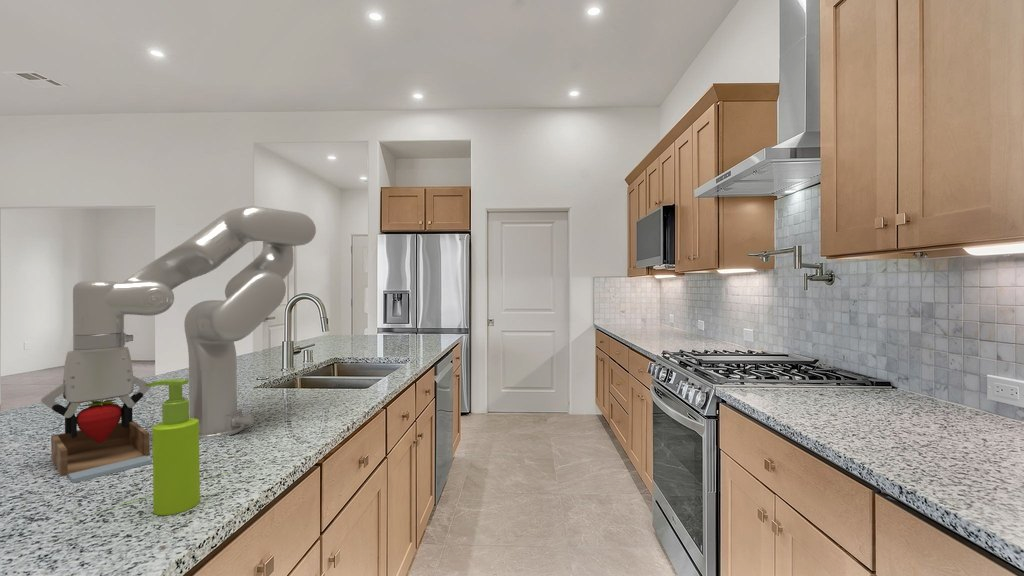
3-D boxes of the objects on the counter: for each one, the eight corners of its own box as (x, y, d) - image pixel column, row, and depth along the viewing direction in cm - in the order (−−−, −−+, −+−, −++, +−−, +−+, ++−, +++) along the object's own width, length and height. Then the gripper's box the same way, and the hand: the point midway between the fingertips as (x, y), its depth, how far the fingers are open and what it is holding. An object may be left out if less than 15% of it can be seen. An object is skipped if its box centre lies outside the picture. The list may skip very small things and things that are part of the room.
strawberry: (66, 448, 86) (65, 396, 86) (106, 435, 94) (105, 388, 94) (93, 449, 85) (92, 397, 85) (131, 436, 93) (130, 388, 93)
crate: (51, 462, 89) (51, 435, 89) (132, 445, 99) (132, 420, 99) (61, 481, 80) (61, 450, 80) (149, 459, 90) (149, 432, 90)
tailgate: (66, 473, 81) (71, 479, 78) (145, 455, 90) (152, 459, 86) (67, 477, 81) (71, 483, 78) (145, 458, 90) (152, 463, 86)
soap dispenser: (163, 498, 73) (161, 376, 73) (207, 496, 74) (206, 375, 74) (136, 517, 67) (134, 384, 67) (185, 514, 68) (182, 383, 68)
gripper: (149, 337, 99) (149, 418, 99) (34, 345, 85) (34, 439, 85) (158, 339, 94) (159, 424, 94) (38, 348, 80) (38, 447, 80)
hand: (99, 430), depth 90 cm, fingers closed on strawberry, 7 cm apart
